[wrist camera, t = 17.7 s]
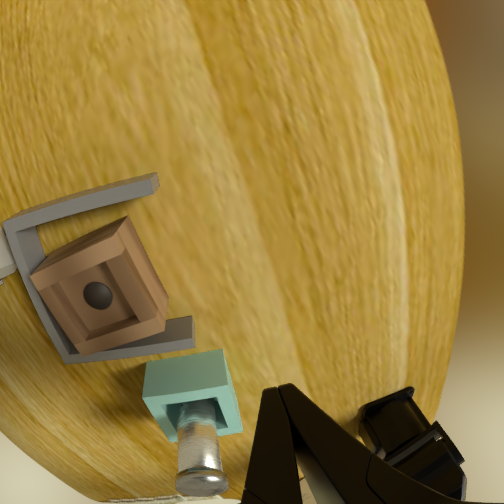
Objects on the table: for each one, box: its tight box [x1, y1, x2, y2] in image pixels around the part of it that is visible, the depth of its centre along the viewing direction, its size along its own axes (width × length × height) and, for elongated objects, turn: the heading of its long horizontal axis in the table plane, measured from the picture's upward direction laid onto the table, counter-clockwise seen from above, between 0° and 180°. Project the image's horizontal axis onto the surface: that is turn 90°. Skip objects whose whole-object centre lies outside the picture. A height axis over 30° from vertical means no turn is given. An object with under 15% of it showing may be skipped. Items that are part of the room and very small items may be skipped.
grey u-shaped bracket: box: [2, 172, 195, 364], centre depth 17 cm, size 10×11×2 cm
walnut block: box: [29, 215, 168, 357], centre depth 17 cm, size 6×6×4 cm
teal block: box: [142, 349, 243, 442], centre depth 21 cm, size 6×6×4 cm
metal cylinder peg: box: [175, 398, 229, 497], centre depth 18 cm, size 3×3×9 cm
